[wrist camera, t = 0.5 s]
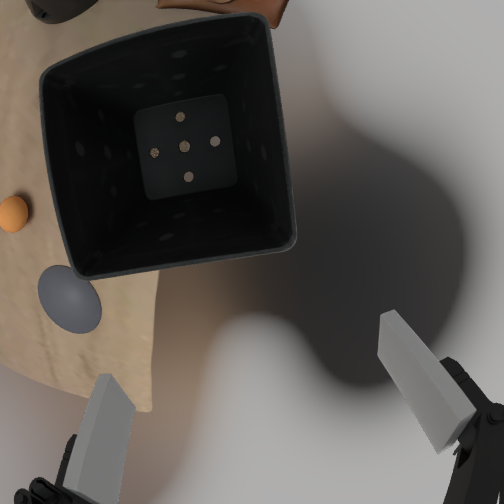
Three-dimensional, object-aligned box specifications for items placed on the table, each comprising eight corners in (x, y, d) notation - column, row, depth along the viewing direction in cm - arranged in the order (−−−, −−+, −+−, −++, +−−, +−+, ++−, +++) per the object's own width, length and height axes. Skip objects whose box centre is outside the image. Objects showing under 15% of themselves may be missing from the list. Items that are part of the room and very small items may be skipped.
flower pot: (106, 94, 29) (35, 70, 14) (247, 64, 30) (267, 8, 15) (129, 228, 36) (75, 284, 21) (266, 204, 37) (298, 249, 22)
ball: (7, 201, 32) (-13, 210, 27) (26, 186, 32) (5, 193, 27) (19, 231, 34) (0, 243, 29) (39, 218, 34) (19, 228, 29)
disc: (27, 279, 37) (26, 279, 37) (75, 254, 37) (75, 254, 37) (64, 339, 42) (64, 339, 42) (115, 323, 42) (115, 324, 41)
